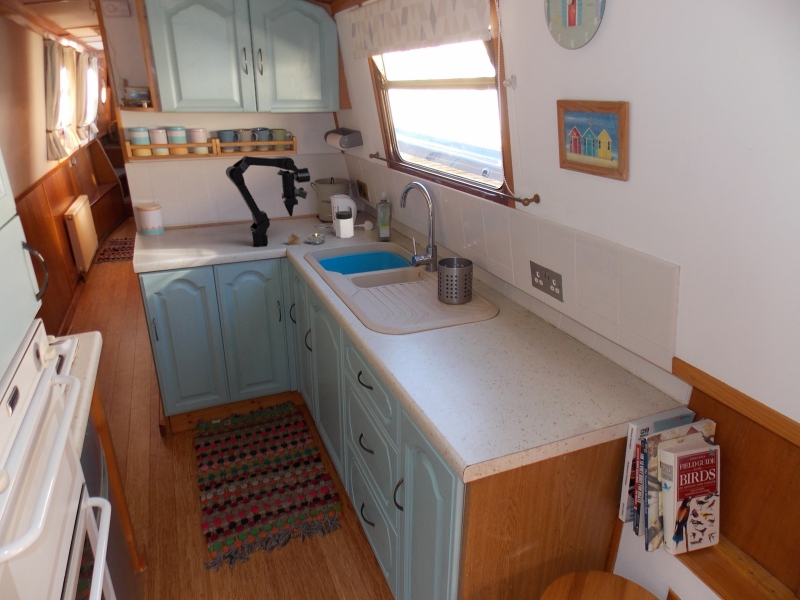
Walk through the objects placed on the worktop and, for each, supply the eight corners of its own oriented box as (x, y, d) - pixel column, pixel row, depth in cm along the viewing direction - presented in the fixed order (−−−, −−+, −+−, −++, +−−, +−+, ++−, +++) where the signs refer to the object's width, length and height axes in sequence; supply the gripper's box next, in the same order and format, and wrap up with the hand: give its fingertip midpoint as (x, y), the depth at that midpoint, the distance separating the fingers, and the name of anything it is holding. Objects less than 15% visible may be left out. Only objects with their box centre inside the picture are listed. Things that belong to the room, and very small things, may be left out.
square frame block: (307, 241, 271) (307, 236, 270) (311, 238, 277) (311, 233, 277) (320, 242, 270) (320, 237, 269) (324, 238, 276) (324, 233, 276)
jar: (356, 236, 285) (355, 212, 280) (343, 239, 280) (342, 215, 275) (346, 233, 291) (345, 209, 287) (333, 235, 286) (331, 212, 282)
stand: (288, 245, 270) (287, 233, 268) (288, 243, 272) (287, 232, 270) (300, 244, 272) (299, 233, 270) (300, 243, 274) (299, 231, 272)
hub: (309, 245, 270) (308, 235, 268) (307, 241, 277) (306, 231, 275) (325, 244, 272) (325, 234, 270) (323, 239, 279) (322, 230, 277)
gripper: (307, 186, 262) (310, 219, 268) (303, 179, 279) (305, 211, 285) (283, 187, 260) (286, 220, 265) (280, 181, 276) (283, 212, 282)
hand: (291, 216), depth 275 cm, fingers closed
